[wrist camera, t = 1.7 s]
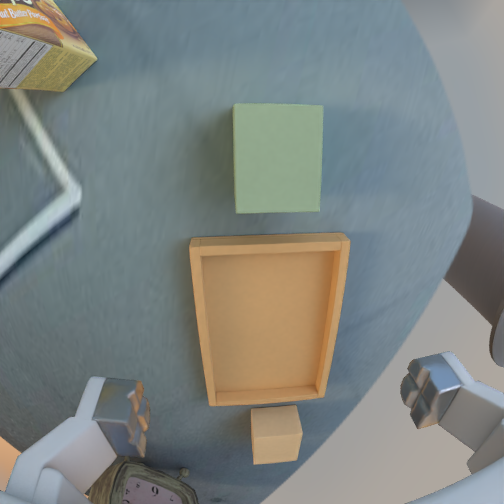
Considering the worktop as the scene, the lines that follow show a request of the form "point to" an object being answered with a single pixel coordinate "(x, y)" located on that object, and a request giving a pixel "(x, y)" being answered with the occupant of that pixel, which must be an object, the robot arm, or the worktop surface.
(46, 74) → the candy box
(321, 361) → the tray
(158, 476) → the tabletop clock
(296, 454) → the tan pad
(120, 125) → the worktop surface
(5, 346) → the worktop surface
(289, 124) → the sage pad
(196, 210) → the worktop surface
